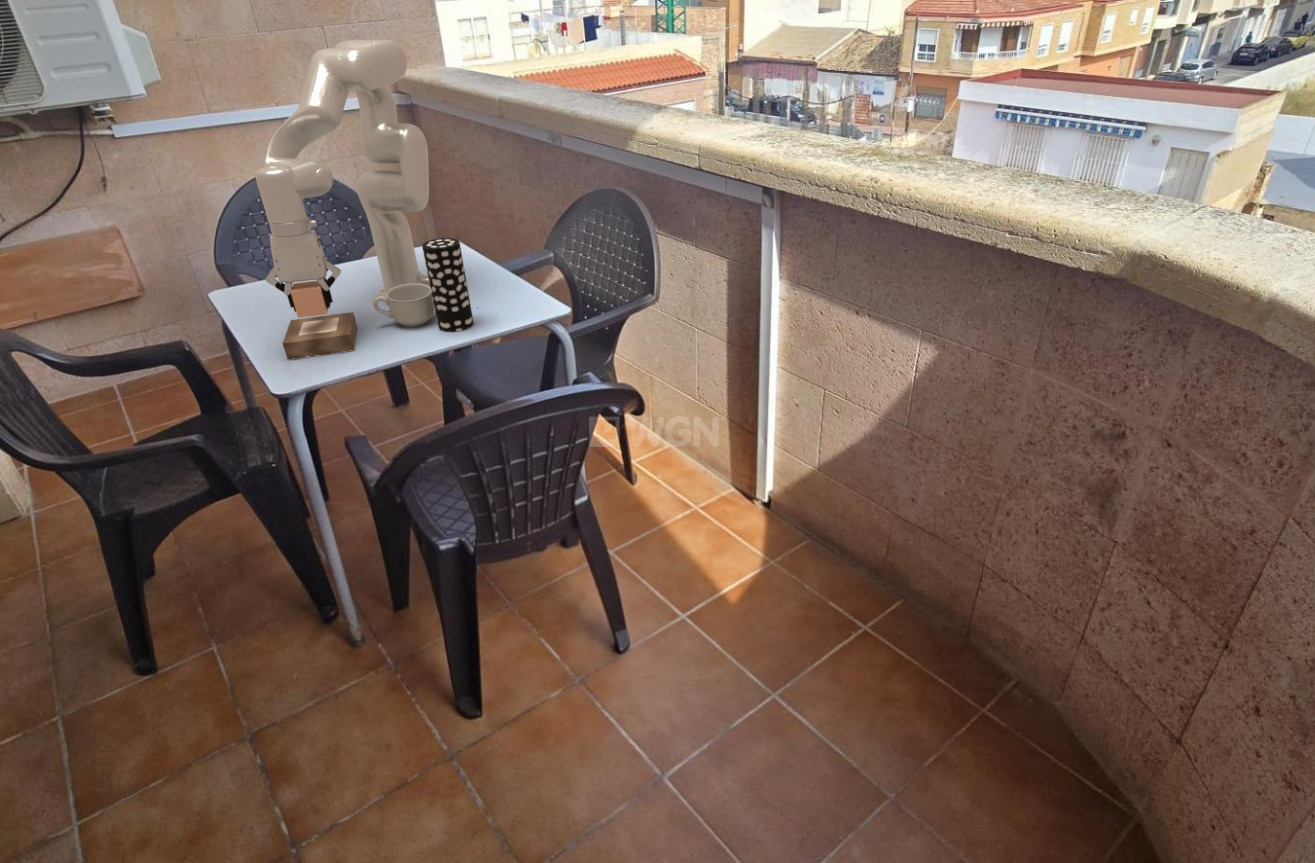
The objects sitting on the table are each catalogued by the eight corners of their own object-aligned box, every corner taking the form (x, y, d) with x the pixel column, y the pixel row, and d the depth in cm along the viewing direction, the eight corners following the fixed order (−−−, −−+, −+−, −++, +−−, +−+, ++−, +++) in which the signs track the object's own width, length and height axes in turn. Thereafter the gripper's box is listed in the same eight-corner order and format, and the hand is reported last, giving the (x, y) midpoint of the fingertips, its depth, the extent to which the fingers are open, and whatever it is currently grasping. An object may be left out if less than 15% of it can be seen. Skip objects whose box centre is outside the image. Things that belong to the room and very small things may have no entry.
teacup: (439, 311, 184) (433, 281, 180) (436, 328, 175) (429, 296, 171) (382, 316, 182) (375, 286, 178) (376, 333, 173) (368, 302, 169)
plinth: (357, 327, 176) (353, 311, 174) (354, 350, 165) (349, 333, 163) (295, 335, 173) (290, 319, 171) (287, 359, 162) (282, 342, 159)
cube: (329, 305, 168) (322, 279, 165) (326, 314, 163) (319, 288, 160) (301, 308, 166) (293, 283, 163) (298, 317, 161) (290, 291, 158)
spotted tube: (441, 334, 171) (424, 251, 161) (435, 322, 178) (419, 241, 167) (476, 328, 174) (462, 245, 164) (469, 316, 181) (455, 236, 170)
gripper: (334, 219, 160) (354, 297, 169) (249, 227, 156) (274, 307, 165) (331, 228, 154) (352, 308, 163) (242, 236, 150) (269, 318, 159)
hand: (312, 307), depth 164 cm, fingers closed on cube, 6 cm apart
